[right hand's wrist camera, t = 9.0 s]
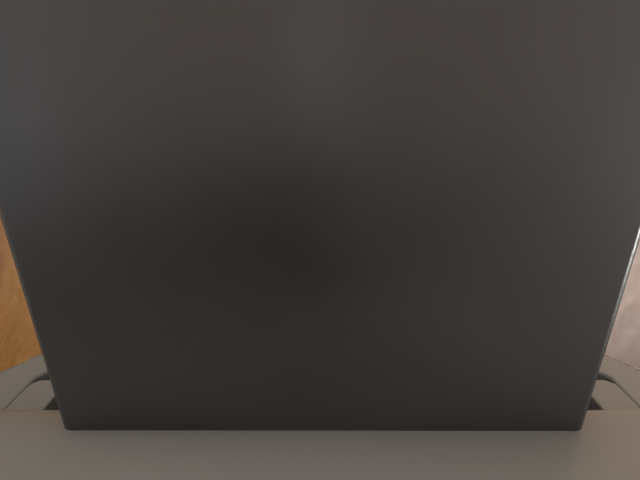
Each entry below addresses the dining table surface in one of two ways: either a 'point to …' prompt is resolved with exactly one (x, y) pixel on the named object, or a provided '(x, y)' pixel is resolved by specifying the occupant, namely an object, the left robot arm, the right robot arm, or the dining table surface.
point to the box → (321, 208)
